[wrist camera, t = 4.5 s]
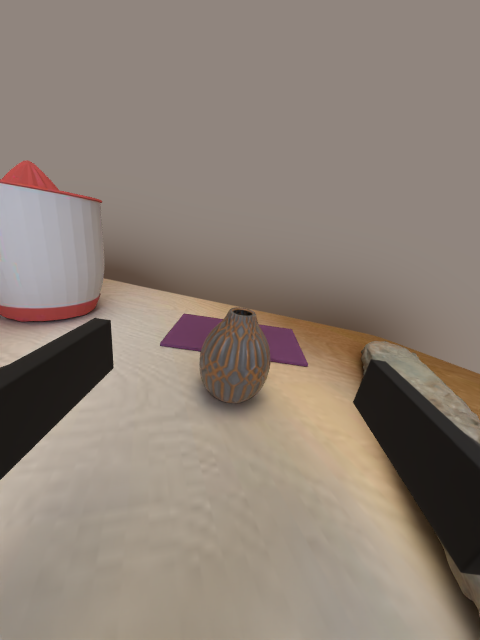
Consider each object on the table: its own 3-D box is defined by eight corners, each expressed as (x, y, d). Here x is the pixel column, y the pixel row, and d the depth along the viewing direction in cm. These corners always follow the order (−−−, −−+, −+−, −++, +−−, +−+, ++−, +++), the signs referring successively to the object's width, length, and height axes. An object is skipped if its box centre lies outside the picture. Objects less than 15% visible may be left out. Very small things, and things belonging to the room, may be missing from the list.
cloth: (291, 331, 41) (291, 329, 41) (307, 366, 30) (308, 364, 30) (183, 315, 41) (184, 313, 41) (159, 345, 30) (159, 342, 30)
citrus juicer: (95, 290, 47) (85, 181, 40) (122, 319, 35) (115, 174, 28) (-17, 295, 36) (-57, 149, 29) (-30, 339, 25) (-100, 117, 18)
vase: (245, 427, 19) (264, 335, 16) (182, 394, 22) (188, 309, 19) (271, 385, 25) (289, 312, 22) (219, 364, 28) (228, 296, 25)
